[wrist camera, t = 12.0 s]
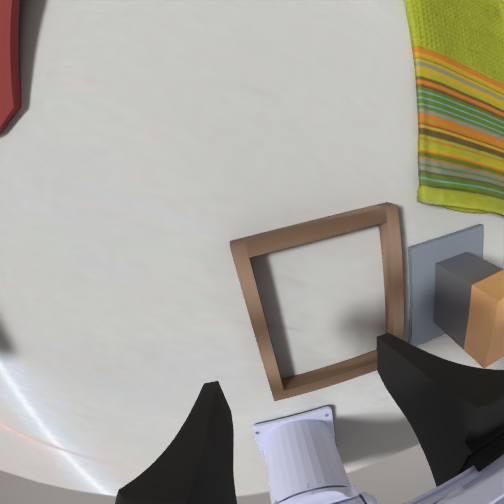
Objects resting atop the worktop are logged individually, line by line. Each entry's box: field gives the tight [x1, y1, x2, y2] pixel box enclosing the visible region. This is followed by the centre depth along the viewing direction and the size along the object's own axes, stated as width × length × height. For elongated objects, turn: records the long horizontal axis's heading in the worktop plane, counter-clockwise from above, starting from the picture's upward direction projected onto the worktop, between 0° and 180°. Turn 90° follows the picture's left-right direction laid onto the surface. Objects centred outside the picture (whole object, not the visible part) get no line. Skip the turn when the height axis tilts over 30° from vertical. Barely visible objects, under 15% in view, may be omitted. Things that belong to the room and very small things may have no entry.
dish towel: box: [405, 0, 504, 216], centre depth 16 cm, size 15×36×3 cm, turn 0°
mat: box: [408, 224, 484, 346], centre depth 24 cm, size 10×9×1 cm
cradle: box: [230, 202, 404, 401], centre depth 22 cm, size 14×12×2 cm
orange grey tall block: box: [433, 252, 504, 368], centre depth 20 cm, size 6×4×8 cm, turn 13°
